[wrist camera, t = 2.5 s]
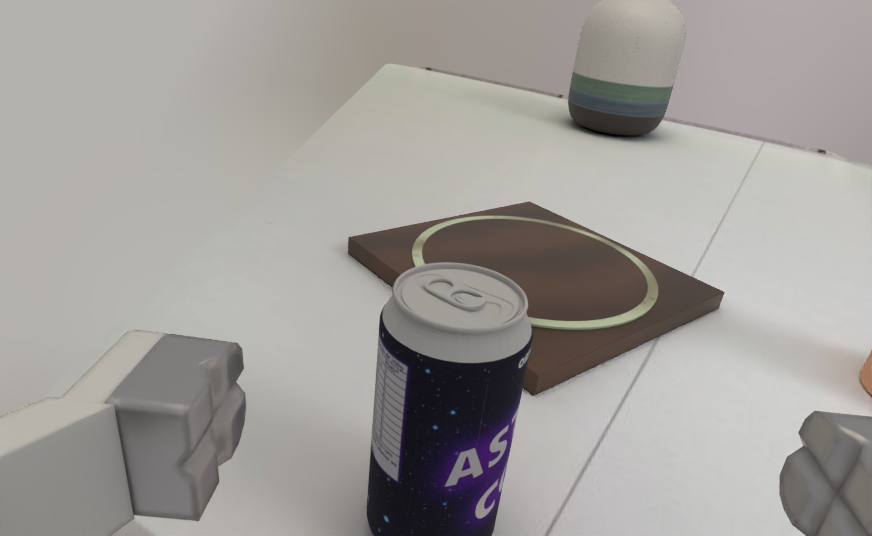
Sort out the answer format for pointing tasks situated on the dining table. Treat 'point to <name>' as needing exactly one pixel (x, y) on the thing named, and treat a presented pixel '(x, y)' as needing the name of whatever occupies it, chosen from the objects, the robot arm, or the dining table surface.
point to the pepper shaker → (867, 374)
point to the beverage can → (446, 400)
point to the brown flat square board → (552, 282)
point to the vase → (626, 65)
